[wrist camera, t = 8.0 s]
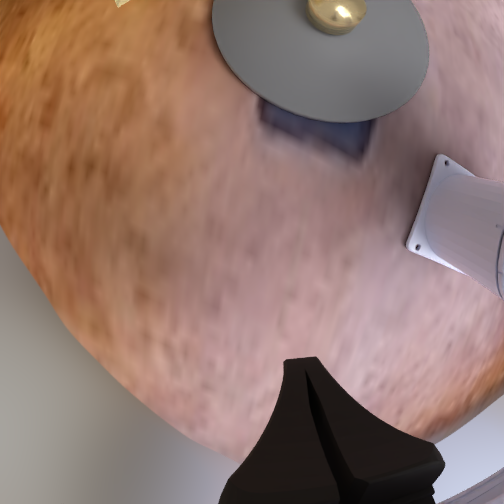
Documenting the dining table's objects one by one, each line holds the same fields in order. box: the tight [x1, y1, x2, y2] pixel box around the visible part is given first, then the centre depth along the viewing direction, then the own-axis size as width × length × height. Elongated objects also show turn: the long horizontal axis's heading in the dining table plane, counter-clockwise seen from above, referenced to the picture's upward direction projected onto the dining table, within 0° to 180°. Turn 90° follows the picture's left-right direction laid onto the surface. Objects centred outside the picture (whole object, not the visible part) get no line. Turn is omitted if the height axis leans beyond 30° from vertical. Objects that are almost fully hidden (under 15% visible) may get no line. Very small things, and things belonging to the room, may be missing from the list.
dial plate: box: [212, 0, 429, 123], centre depth 15 cm, size 16×16×1 cm
